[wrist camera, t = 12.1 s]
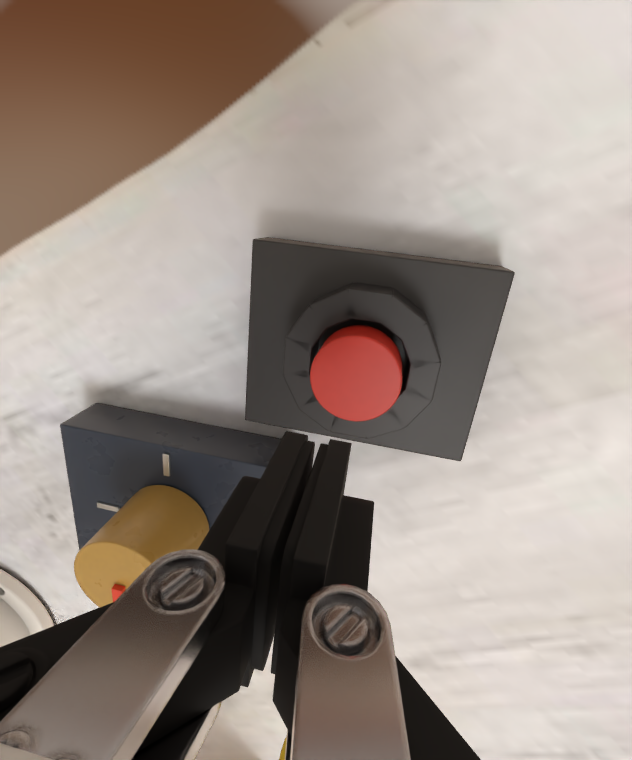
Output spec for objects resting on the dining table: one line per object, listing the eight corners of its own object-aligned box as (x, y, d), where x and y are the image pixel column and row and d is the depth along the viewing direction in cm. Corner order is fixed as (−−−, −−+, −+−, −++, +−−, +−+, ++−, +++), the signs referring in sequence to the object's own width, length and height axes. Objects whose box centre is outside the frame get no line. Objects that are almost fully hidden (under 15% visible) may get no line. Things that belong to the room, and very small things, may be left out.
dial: (127, 476, 23) (62, 536, 19) (209, 494, 22) (162, 561, 18) (132, 544, 25) (75, 613, 20) (209, 562, 24) (166, 638, 20)
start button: (314, 396, 18) (305, 413, 17) (322, 318, 17) (314, 328, 15) (393, 410, 18) (393, 429, 16) (409, 331, 16) (410, 343, 15)
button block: (258, 403, 23) (231, 437, 19) (267, 237, 20) (236, 240, 16) (455, 439, 22) (466, 484, 18) (502, 266, 18) (528, 277, 14)
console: (110, 527, 29) (78, 560, 26) (96, 402, 25) (56, 425, 22) (284, 569, 27) (270, 610, 24) (297, 441, 23) (283, 472, 21)
